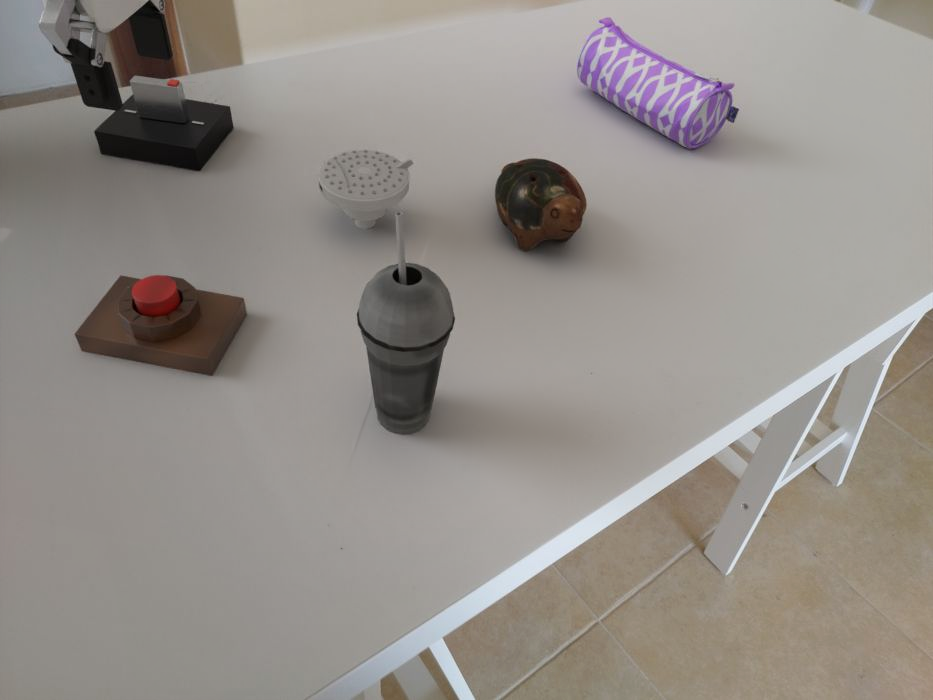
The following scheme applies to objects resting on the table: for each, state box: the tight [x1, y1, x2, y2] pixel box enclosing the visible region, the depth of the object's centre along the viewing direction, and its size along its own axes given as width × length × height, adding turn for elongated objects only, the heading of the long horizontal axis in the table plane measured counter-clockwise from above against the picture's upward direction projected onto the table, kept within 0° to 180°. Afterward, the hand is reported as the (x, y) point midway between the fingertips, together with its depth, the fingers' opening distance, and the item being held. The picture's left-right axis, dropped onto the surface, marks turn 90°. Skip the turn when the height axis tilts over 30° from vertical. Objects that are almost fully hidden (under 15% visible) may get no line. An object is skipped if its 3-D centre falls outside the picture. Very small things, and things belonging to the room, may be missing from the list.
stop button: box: [132, 274, 180, 317], centre depth 64 cm, size 4×4×2 cm
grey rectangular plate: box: [129, 75, 189, 123], centre depth 85 cm, size 6×1×5 cm, turn 83°
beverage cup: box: [356, 211, 456, 435], centre depth 56 cm, size 7×7×20 cm
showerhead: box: [317, 149, 414, 230], centre depth 78 cm, size 9×7×10 cm
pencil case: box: [576, 16, 740, 150], centre depth 99 cm, size 22×9×10 cm, turn 42°
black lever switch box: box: [93, 94, 235, 172], centre depth 87 cm, size 12×10×3 cm
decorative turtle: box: [494, 158, 588, 252], centre depth 80 cm, size 10×15×8 cm, turn 27°
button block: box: [74, 275, 248, 377], centre depth 66 cm, size 12×8×4 cm, turn 80°
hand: (131, 80), depth 65 cm, fingers open, 9 cm apart
